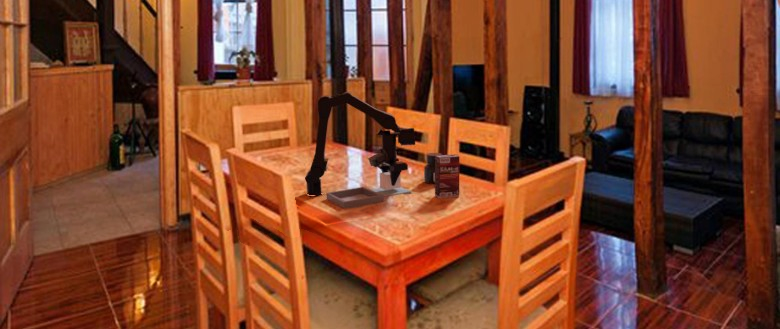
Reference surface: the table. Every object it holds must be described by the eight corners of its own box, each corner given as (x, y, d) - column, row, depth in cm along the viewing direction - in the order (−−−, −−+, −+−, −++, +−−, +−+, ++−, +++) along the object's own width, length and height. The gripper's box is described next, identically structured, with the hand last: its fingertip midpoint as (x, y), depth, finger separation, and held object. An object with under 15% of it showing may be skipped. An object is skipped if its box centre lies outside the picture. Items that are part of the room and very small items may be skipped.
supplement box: (439, 198, 210) (438, 158, 207) (434, 195, 214) (434, 155, 211) (460, 196, 212) (460, 156, 209) (455, 193, 217) (455, 153, 213)
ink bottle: (439, 185, 230) (438, 157, 228) (420, 183, 235) (419, 155, 232) (448, 180, 238) (448, 153, 236) (430, 178, 243) (430, 151, 240)
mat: (370, 191, 224) (370, 189, 224) (396, 187, 229) (395, 185, 229) (384, 197, 213) (384, 195, 213) (411, 193, 219) (411, 191, 219)
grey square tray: (326, 200, 212) (326, 192, 212) (363, 194, 220) (363, 186, 219) (344, 210, 199) (343, 202, 198) (383, 203, 206) (382, 195, 206)
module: (379, 187, 221) (379, 173, 220) (395, 185, 225) (394, 170, 223) (385, 190, 217) (384, 175, 216) (400, 187, 221) (400, 172, 220)
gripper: (360, 144, 222) (361, 182, 225) (382, 151, 206) (383, 192, 209) (384, 141, 227) (385, 178, 230) (408, 148, 211) (409, 188, 214)
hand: (390, 184), depth 221 cm, fingers closed on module, 4 cm apart
